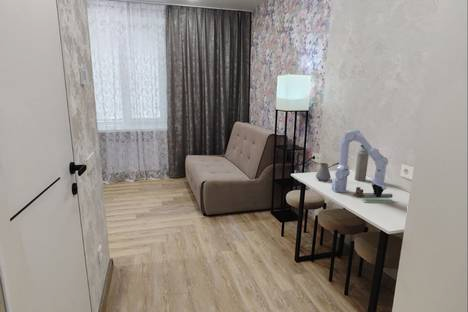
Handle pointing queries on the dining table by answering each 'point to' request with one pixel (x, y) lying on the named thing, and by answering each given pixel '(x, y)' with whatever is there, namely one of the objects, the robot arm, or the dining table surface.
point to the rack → (359, 192)
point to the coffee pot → (324, 172)
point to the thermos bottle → (361, 164)
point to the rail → (377, 197)
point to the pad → (376, 200)
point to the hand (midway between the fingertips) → (377, 196)
